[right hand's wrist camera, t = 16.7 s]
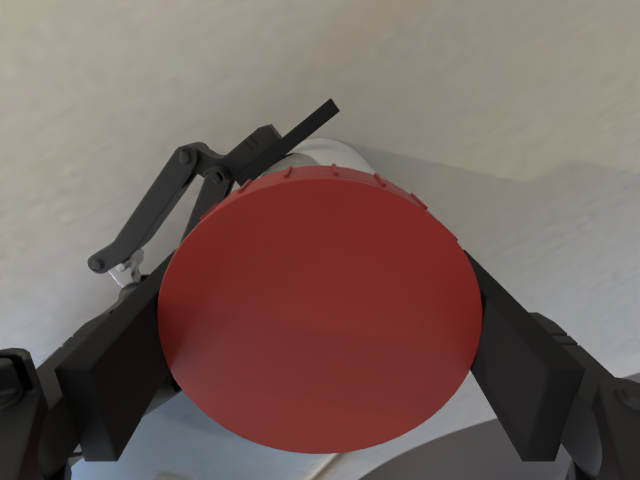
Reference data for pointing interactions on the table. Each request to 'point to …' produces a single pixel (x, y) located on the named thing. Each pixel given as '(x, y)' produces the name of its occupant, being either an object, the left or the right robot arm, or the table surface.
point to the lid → (319, 311)
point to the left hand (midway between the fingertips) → (383, 175)
